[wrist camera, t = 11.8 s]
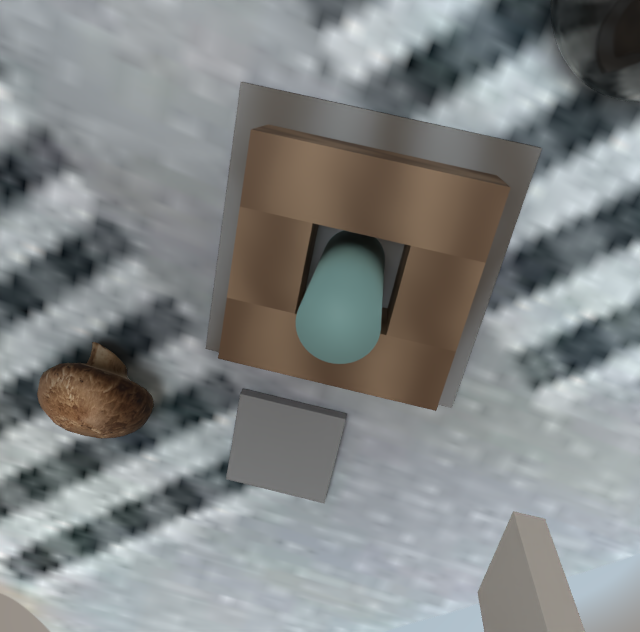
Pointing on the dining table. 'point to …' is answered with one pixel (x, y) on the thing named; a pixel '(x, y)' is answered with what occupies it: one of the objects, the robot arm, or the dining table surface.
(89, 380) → the mushroom
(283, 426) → the pad
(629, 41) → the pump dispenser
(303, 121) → the socket
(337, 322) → the peg
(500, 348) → the dining table surface
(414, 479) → the dining table surface
